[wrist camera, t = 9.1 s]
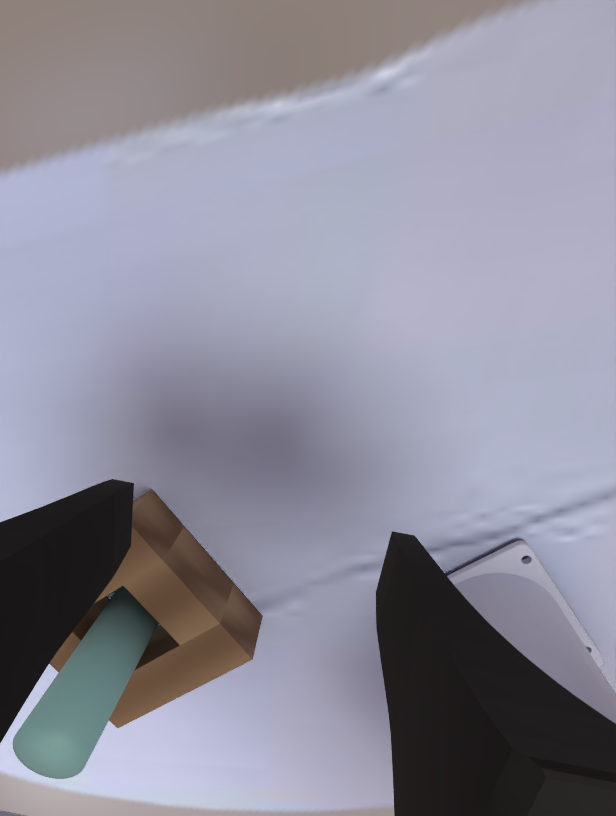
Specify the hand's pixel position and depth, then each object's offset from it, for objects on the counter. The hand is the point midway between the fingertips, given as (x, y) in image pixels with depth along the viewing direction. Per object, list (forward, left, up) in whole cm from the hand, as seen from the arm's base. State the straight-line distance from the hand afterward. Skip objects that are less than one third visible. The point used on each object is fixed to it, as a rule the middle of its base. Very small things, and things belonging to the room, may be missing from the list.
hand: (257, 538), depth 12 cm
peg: (-4, +14, -10) cm, 18 cm away
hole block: (-4, +14, -10) cm, 18 cm away
